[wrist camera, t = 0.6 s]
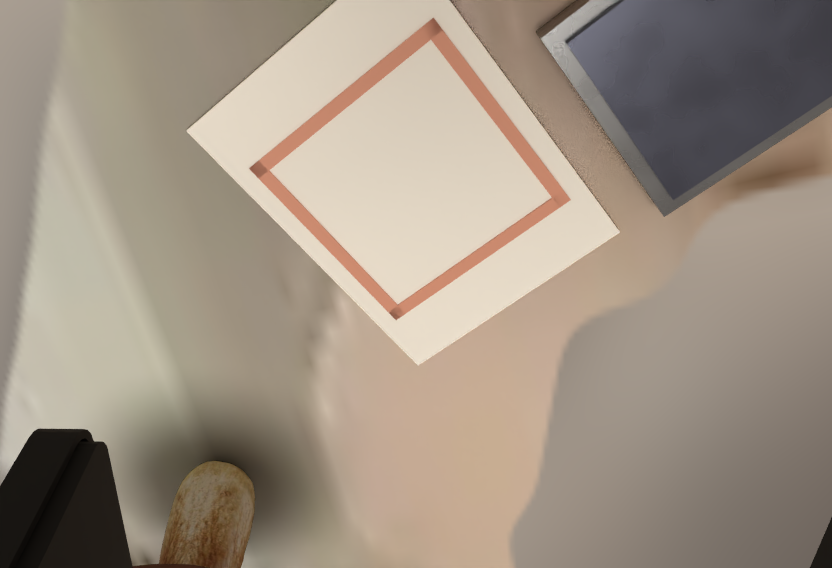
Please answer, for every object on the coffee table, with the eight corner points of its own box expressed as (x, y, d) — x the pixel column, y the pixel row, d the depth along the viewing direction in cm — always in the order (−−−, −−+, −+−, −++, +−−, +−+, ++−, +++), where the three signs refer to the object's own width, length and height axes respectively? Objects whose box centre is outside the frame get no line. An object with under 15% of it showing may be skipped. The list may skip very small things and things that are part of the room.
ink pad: (783, -160, 29) (803, -160, 27) (884, 54, 33) (906, 64, 31) (535, 31, 32) (542, 40, 31) (656, 205, 36) (666, 220, 35)
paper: (405, -60, 30) (405, -59, 30) (618, 230, 37) (620, 233, 36) (187, 129, 34) (185, 131, 33) (417, 363, 40) (418, 366, 40)
